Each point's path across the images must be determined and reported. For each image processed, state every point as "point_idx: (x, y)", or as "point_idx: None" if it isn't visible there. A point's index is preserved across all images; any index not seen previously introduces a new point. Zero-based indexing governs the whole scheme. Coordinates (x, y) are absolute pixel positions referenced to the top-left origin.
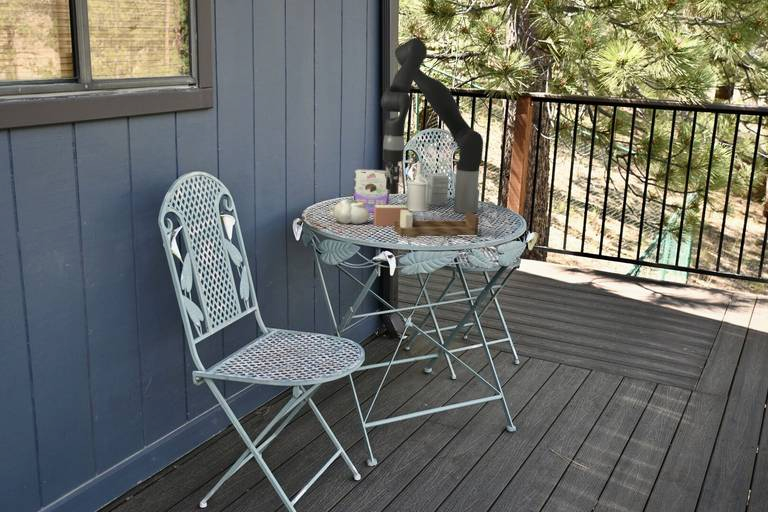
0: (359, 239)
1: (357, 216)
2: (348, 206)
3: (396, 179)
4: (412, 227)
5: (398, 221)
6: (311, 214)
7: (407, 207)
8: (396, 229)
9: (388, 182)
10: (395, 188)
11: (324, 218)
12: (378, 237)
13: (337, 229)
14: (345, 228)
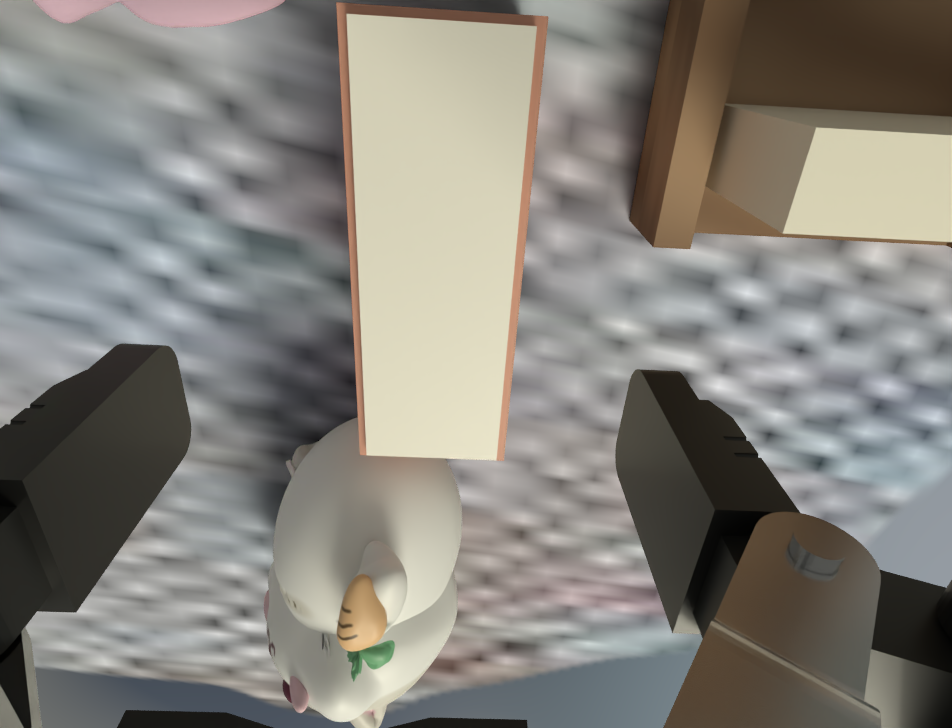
0: (872, 532)
1: (461, 532)
2: (414, 653)
3: (861, 665)
4: (764, 27)
5: (699, 207)
6: (133, 663)
7: (537, 27)
8: (759, 233)
9: (103, 516)
10: (755, 470)
11: (243, 619)
12: (873, 413)
13: (569, 598)
14: (547, 557)
